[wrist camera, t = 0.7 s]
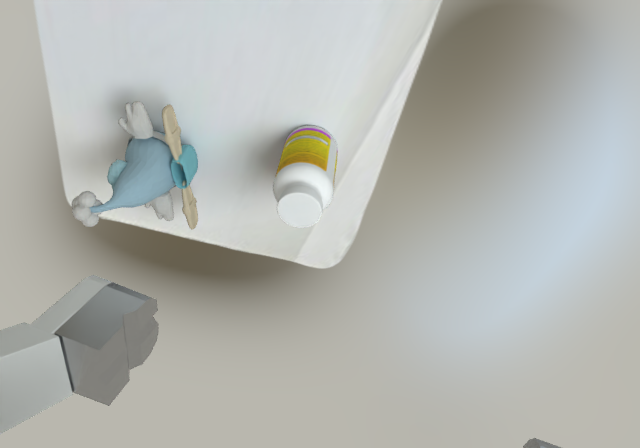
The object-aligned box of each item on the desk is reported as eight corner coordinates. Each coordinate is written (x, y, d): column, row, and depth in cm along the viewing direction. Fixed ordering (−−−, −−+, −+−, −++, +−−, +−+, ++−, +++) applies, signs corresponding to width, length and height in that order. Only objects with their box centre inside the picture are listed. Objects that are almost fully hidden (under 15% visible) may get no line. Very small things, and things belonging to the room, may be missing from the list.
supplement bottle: (276, 133, 55) (255, 194, 45) (325, 115, 53) (315, 175, 43) (298, 176, 58) (284, 241, 49) (345, 161, 56) (340, 226, 46)
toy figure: (104, 82, 52) (29, 146, 41) (191, 85, 52) (139, 150, 40) (140, 197, 63) (89, 273, 51) (213, 201, 62) (177, 279, 51)
